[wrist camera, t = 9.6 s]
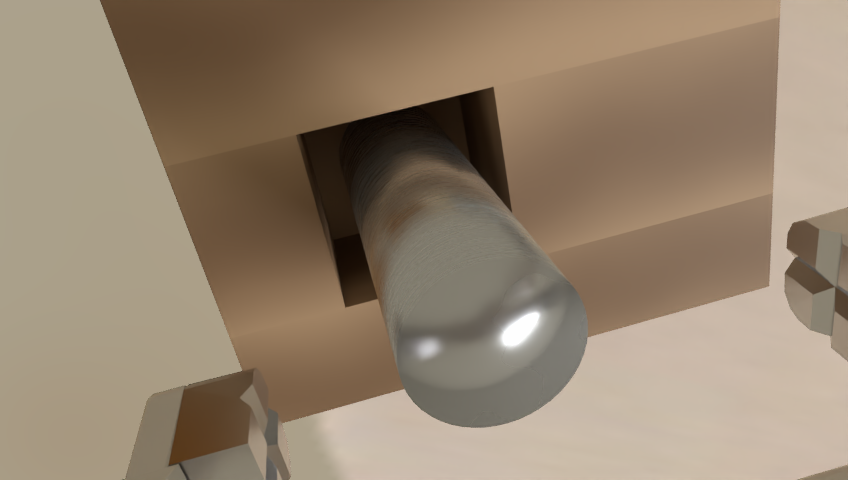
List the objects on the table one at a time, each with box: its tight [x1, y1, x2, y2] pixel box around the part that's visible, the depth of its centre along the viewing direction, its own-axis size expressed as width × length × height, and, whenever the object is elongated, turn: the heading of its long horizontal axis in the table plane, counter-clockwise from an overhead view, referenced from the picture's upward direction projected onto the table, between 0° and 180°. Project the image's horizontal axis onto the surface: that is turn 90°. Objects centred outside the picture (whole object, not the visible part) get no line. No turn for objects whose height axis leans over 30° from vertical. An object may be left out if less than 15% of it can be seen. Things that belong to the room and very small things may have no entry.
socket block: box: [100, 0, 780, 423], centre depth 18 cm, size 14×14×6 cm
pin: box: [339, 106, 588, 428], centre depth 15 cm, size 3×3×10 cm
